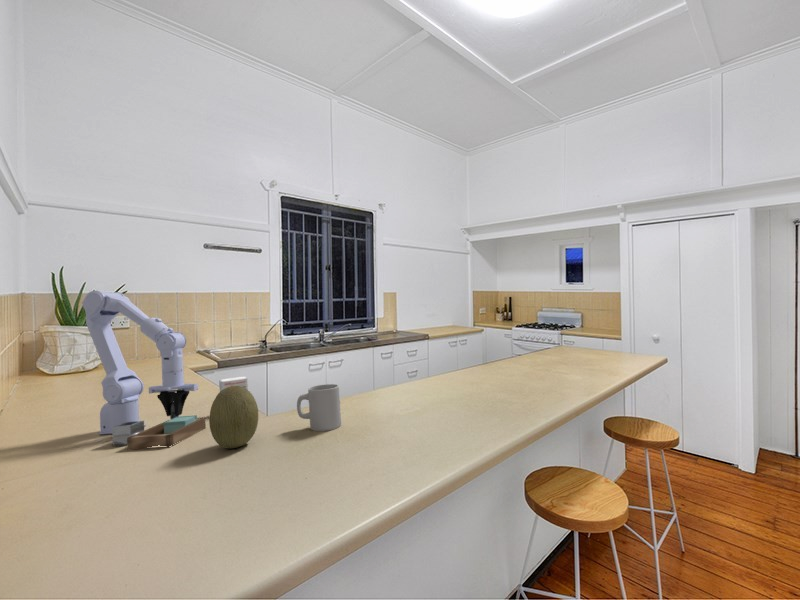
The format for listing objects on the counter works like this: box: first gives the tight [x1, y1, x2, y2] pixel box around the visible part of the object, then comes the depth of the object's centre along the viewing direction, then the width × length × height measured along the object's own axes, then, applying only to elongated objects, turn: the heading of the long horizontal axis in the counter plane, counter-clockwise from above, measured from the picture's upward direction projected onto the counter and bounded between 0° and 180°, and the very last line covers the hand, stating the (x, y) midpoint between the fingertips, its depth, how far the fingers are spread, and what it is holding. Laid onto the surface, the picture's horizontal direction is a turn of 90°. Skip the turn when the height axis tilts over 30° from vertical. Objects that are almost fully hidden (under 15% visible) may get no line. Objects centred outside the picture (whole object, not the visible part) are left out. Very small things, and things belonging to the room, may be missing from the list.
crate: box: [162, 415, 198, 434], centre depth 109 cm, size 6×6×4 cm
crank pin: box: [169, 402, 180, 420], centre depth 115 cm, size 2×2×6 cm
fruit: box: [208, 386, 259, 449], centre depth 92 cm, size 11×11×15 cm
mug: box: [296, 383, 342, 432], centre depth 104 cm, size 12×8×11 cm
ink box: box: [218, 375, 249, 392], centre depth 129 cm, size 8×5×12 cm, turn 124°
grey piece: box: [112, 420, 145, 448], centre depth 102 cm, size 7×7×5 cm
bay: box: [127, 417, 207, 450], centre depth 103 cm, size 11×16×3 cm
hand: (174, 415), depth 115 cm, fingers closed on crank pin, 2 cm apart
